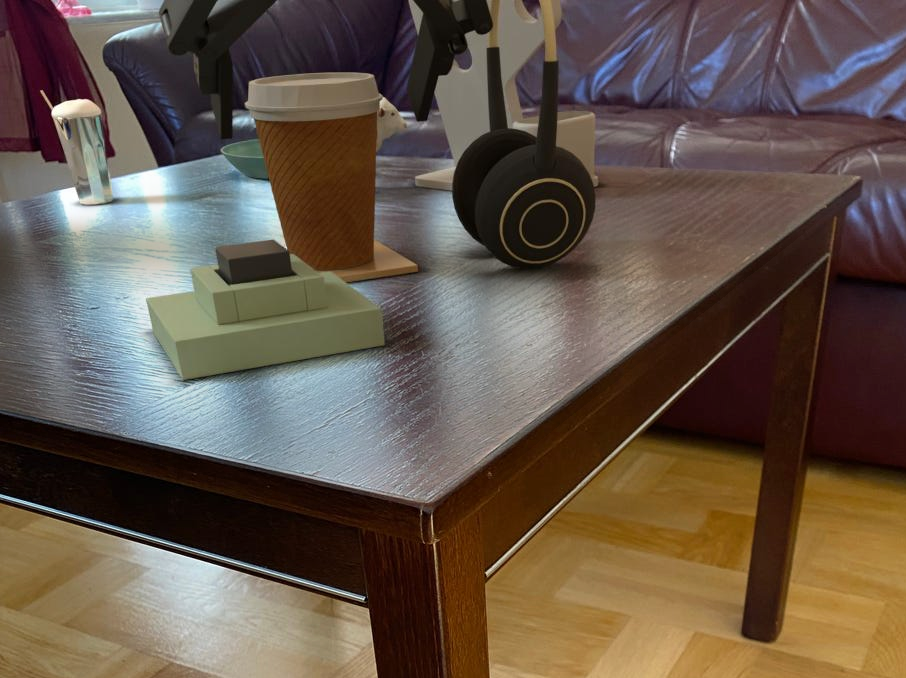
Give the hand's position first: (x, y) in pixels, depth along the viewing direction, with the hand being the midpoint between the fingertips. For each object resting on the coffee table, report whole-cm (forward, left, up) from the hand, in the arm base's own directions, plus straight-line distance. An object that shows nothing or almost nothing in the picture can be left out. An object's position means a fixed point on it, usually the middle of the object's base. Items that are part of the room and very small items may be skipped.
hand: (321, 113), depth 69 cm
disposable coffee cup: (-2, 0, -10) cm, 10 cm away
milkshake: (-41, -13, -11) cm, 45 cm away
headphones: (+4, +13, -11) cm, 17 cm away
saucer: (-46, +9, -11) cm, 48 cm away
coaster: (-2, 0, -11) cm, 11 cm away
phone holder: (-24, +25, -11) cm, 37 cm away
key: (+13, -9, -7) cm, 17 cm away
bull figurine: (-29, +10, -11) cm, 33 cm away
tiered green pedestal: (+13, -9, -11) cm, 19 cm away
